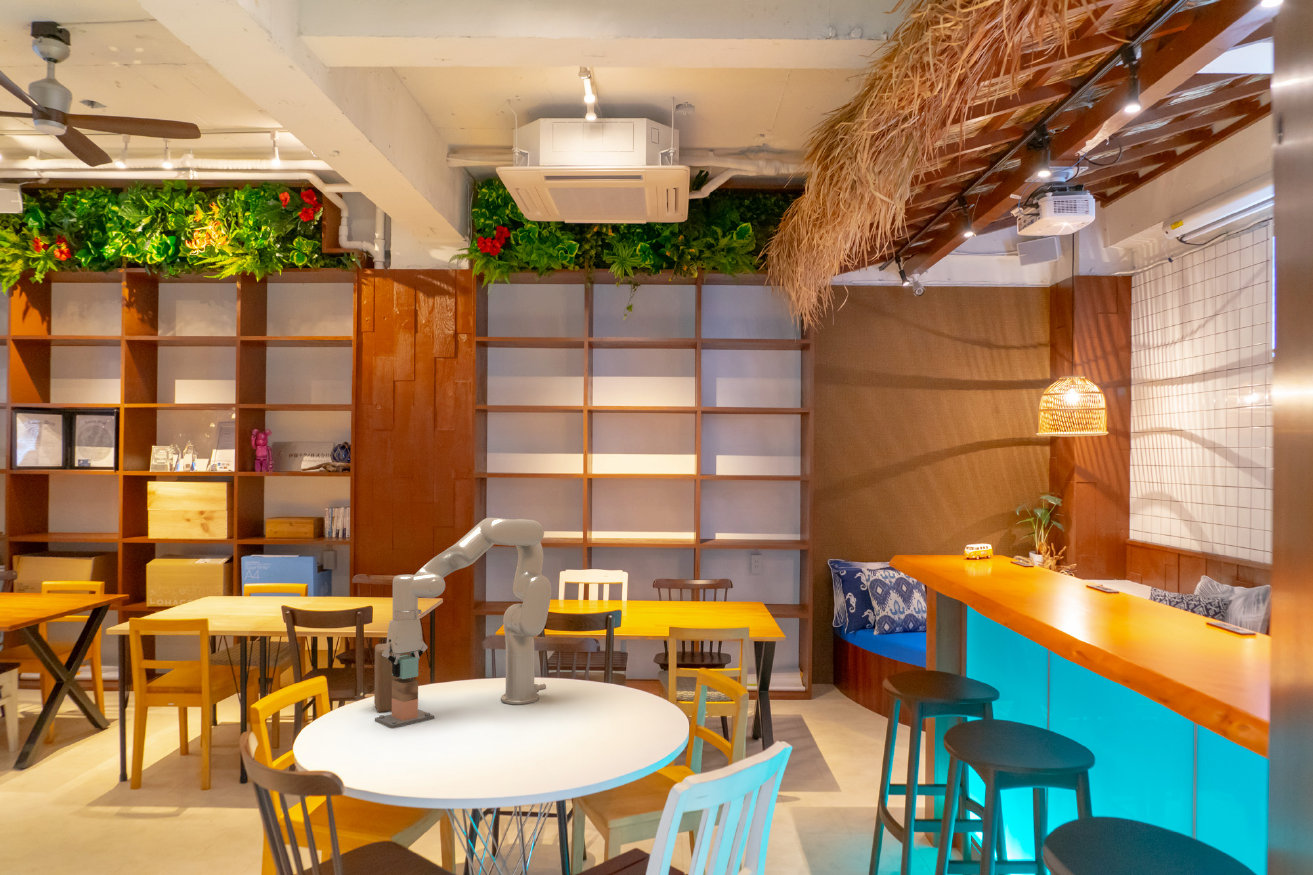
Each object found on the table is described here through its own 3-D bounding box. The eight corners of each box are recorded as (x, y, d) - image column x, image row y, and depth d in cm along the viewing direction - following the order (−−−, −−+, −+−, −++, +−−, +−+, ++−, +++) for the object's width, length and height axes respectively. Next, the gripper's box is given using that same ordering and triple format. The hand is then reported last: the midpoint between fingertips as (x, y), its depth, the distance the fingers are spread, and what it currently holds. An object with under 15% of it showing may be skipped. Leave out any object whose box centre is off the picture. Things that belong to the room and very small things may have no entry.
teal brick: (407, 672, 259) (407, 654, 259) (418, 676, 254) (418, 658, 254) (392, 675, 255) (392, 657, 256) (403, 679, 250) (403, 660, 251)
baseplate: (416, 711, 263) (416, 690, 263) (434, 718, 255) (434, 697, 255) (374, 721, 253) (374, 699, 253) (391, 728, 245) (392, 706, 245)
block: (374, 705, 271) (374, 643, 271) (405, 701, 275) (405, 641, 276) (377, 713, 261) (378, 649, 262) (410, 709, 266) (410, 646, 267)
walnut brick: (406, 694, 259) (406, 676, 259) (418, 698, 254) (418, 680, 254) (391, 697, 255) (391, 679, 255) (403, 702, 250) (403, 683, 250)
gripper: (424, 610, 264) (423, 668, 263) (373, 617, 252) (373, 677, 251) (436, 613, 259) (436, 671, 258) (385, 620, 247) (384, 681, 246)
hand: (405, 674), depth 255 cm, fingers closed on teal brick, 5 cm apart
